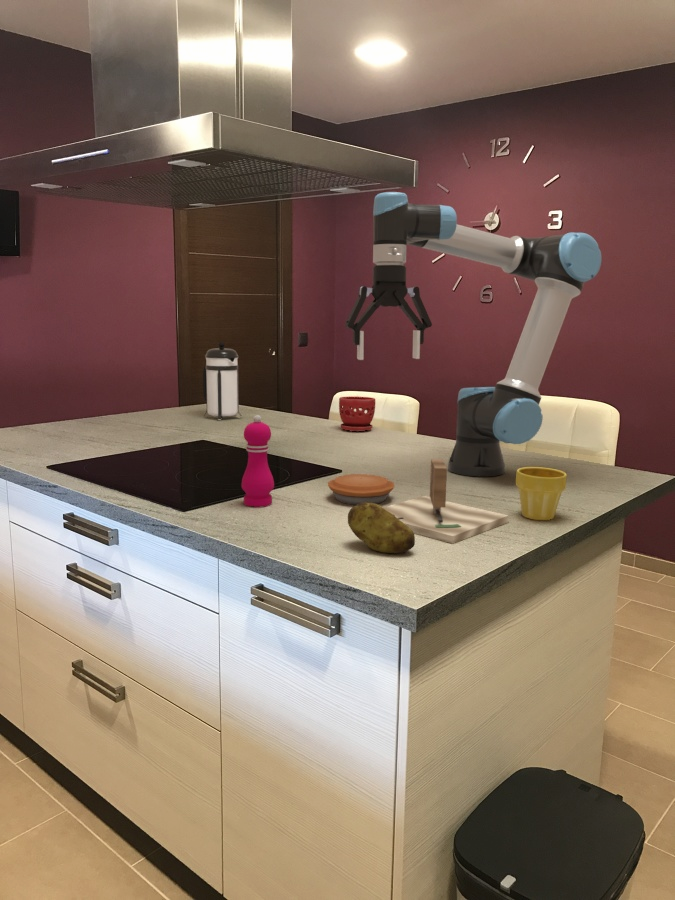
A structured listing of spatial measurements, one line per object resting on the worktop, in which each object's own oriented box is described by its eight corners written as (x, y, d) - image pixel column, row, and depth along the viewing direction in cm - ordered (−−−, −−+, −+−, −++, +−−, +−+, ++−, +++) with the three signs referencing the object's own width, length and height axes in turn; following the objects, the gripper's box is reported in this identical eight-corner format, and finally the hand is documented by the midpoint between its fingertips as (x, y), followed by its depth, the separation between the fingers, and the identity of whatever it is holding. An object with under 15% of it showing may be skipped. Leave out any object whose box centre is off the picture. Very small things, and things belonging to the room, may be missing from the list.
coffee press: (246, 415, 294) (245, 341, 289) (236, 421, 279) (235, 342, 273) (204, 414, 296) (202, 340, 290) (193, 420, 280) (191, 342, 275)
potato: (385, 562, 126) (386, 518, 124) (340, 543, 136) (340, 502, 134) (420, 553, 130) (421, 510, 129) (374, 535, 140) (374, 495, 139)
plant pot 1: (379, 432, 258) (380, 399, 256) (343, 433, 255) (343, 399, 253) (369, 426, 271) (369, 394, 268) (335, 427, 268) (335, 395, 265)
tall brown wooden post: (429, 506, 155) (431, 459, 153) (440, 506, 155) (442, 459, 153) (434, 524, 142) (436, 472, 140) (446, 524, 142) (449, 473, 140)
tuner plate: (423, 502, 165) (423, 495, 165) (508, 522, 150) (508, 514, 150) (365, 519, 151) (365, 511, 151) (452, 543, 136) (452, 535, 136)
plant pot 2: (571, 516, 156) (575, 471, 154) (550, 526, 148) (553, 479, 146) (527, 506, 162) (530, 464, 161) (504, 516, 155) (507, 471, 153)
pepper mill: (258, 497, 167) (257, 411, 163) (280, 503, 163) (280, 415, 159) (235, 503, 162) (233, 415, 158) (257, 509, 157) (257, 418, 153)
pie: (331, 489, 176) (331, 469, 175) (395, 492, 174) (395, 472, 174) (323, 506, 161) (323, 484, 160) (393, 509, 159) (393, 487, 158)
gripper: (340, 263, 157) (340, 361, 162) (447, 264, 163) (444, 359, 168) (332, 265, 165) (332, 358, 169) (435, 266, 171) (432, 356, 175)
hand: (388, 359), depth 168 cm, fingers open, 13 cm apart
